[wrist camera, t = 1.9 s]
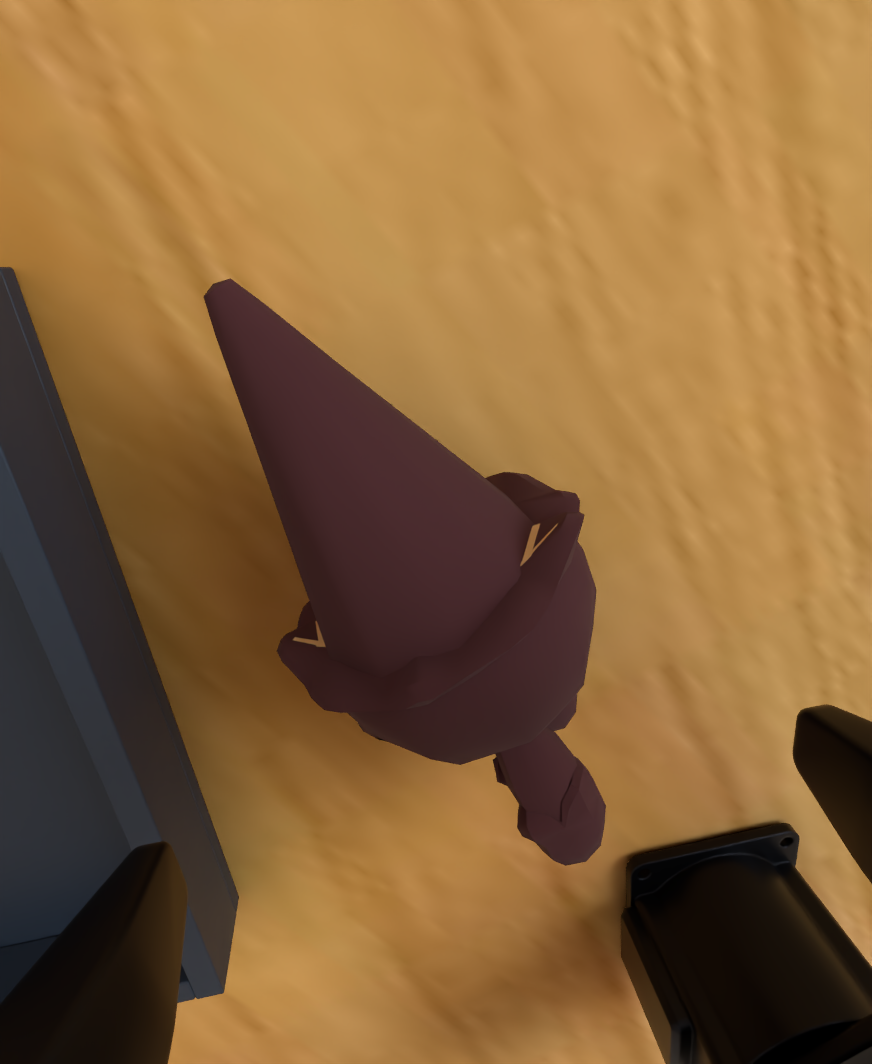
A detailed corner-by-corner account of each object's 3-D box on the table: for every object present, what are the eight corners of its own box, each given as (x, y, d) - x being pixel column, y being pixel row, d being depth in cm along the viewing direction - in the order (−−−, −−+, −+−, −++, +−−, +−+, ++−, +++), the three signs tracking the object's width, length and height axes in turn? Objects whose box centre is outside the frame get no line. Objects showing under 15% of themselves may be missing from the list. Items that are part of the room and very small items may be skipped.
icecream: (-72, 480, 9) (451, 938, 16) (375, 178, 6) (751, 868, 14) (139, 331, 14) (454, 716, 22) (415, 144, 12) (665, 641, 19)
